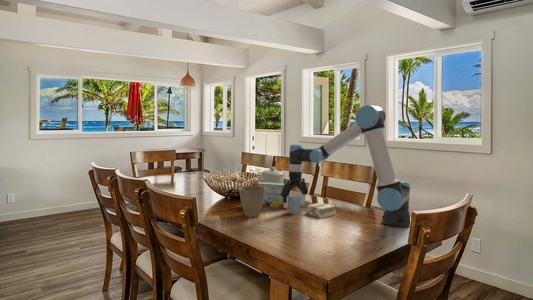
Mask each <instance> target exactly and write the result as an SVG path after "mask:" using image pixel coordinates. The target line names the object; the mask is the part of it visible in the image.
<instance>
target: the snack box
mask: <svg viewBox="0 0 533 300" xmlns="http://www.w3.org/2000/svg"><path fill="white" fill-rule="evenodd" d="M284 184H285V183H284V182H283V183H268V182H262V181H258V182H257V185H256V186H261V187H264V188H265V194H264V199H263V204H262V207H263V208H264V207H265V208H267V207H268V208H275V209H276V208H278V209H285V208H284V202H283V197H282V196H281V192H282V190H283V187H284ZM289 196H292V190H291V191H290V193H289V194H288V196H287V197H288V209H287V210H289Z"/></svg>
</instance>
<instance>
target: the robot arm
mask: <svg viewBox="0 0 533 300" xmlns="http://www.w3.org/2000/svg"><path fill="white" fill-rule="evenodd" d="M386 115H387V114H386V112H385V110H384V109H383V108H382V107H381V106H378V105H372V104H365V105H362V106H361V107H359V108H358V109H357V111H356V113H355V118H354V120H355V123H354V124H352V125H350V126H348V127H347V128H346V129H344V130H343V131H342V132H341V131H340V133H339V134H337V135H335V136H334V137H333V138H331V139H329V140H328V141H327V142H325V143H324V144H322V145H321V146H319V147H317V148H303V145H302V144H290V146H289V152H288V153H289V156H288V157H289V160H288V161H289V163H288V178H289V179H284V181H285V182H284V183H283V184H284V187H283V190H282V192H281V196H282V197H283V202H284V208H283V209H287V210H289V209H288V197H287V196H288V194H289V193H290V191H291V192H292V189H294V188H296V187H297V188H298V190H299V191H300V197H301V206H305V202H306V195H307V194H308V193H309V190H308V187H307V185H306V178H304V177H302V174H303V173H302V171H303V162H305V163H313V164H319V163H322V161H326V160H327V159H328V158H329V157H330V156H331V155H333V154H335V153H336V152H338V151H340V150H341V149H342V148H344V147H345V146H346V145H349V144H350V143H352V142H353V141H355V140H357V139H358V138H359V137H361V136H364V137H365V138H366V142H367V147H368V149H369V150H368V151H369V152H370V157H371V160H372V164H373V169H374V172H375V175H376V178H377V183H376V185H375V186H376V190H377V196H376V200H377V204H378V205H379V207H380V208H382V209H383V210H384V212H383V213H382V217H381V223H382V224H384V225H386V226H388V227H393V226H394V227H396V228H408V227H407V226H409V225H410V217H411V213H410V195H411V193H410V191H411V184H410V182H407V181H401V179H398V178H397V177H396V174H395V171H394V167H393V164H392V159H391V156H390V153H389V150H388V146H387V142H386V138H385V134H384V130H385V129H386V127H385V124H384V123H385V122H386V118H387V117H386ZM411 218H412V217H411ZM394 227H393V228H394Z"/></svg>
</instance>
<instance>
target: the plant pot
mask: <svg viewBox="0 0 533 300" xmlns="http://www.w3.org/2000/svg"><path fill="white" fill-rule="evenodd" d="M238 189H239V196H240V197H239V198H240V202H241V205H242V210H243V212H244V215H245V216H246V217H247V218H257V217H259V215H260V213H261V209H262V207H263V206H262V204H263V199H264V194H265V188H264V187H261V186H257V185H244V186H240V187H239V188H238Z"/></svg>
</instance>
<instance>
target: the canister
mask: <svg viewBox="0 0 533 300" xmlns="http://www.w3.org/2000/svg"><path fill="white" fill-rule="evenodd" d="M260 174H261V175H260V176H261V179H262V178H263V182H268V183H283V184H284V181H285V175H286V173H285V172H284V171H282V170H278V169H277V170H276V167H275V166H271V167H270V168H269V169H266V170H263V171H261V172H260Z"/></svg>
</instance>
